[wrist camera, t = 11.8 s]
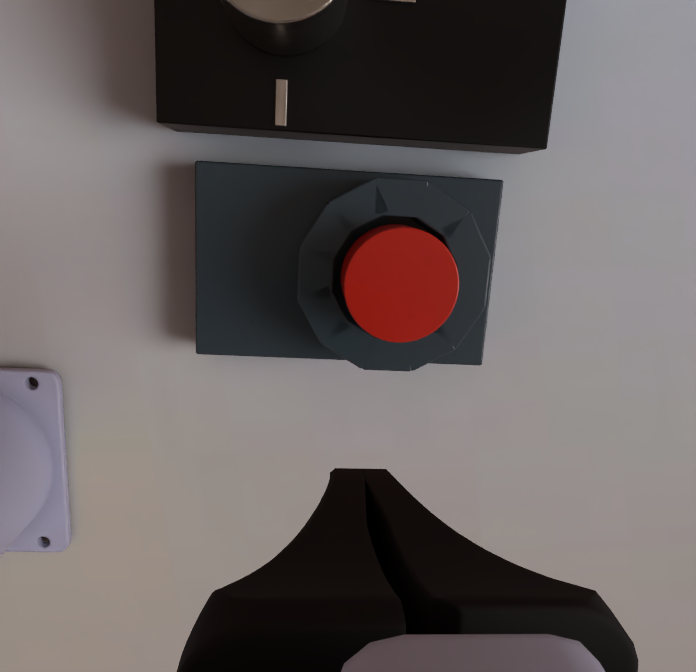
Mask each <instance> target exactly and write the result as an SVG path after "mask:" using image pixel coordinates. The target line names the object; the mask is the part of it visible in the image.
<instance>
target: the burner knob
mask: <svg viewBox="0 0 696 672" xmlns="http://www.w3.org/2000/svg"><path fill="white" fill-rule="evenodd" d="M220 2H221V4H222V6H223V8H224V10H225V12H226V14H227V16H228V18H229V20H230V21H231V23H232V25H233V26H234V27H235V29H236V30H237V31H238V32H239V34H240V35H241V36H242V37H243V38H244V39H246V40H247V41H248V42H249V43H250V44H252V45H254V46H255V47H257V48H259V49H261V50H263V51H265V52H268V53H272V54H276V55H286V56H291V55H299V54H302V53H306V52H308V51H311V50H313V49H315V48H317V47H318V46H320V45H321V44H323V43H324V42H325V41H326V40H327V39H328V38H329V37H330V36H331V35H332V34H333V33H334V32H335V30H336V29H337V27H338V26H339V24H340V22H341V20H342V18H343V16H344V13H345V11H346V7H347V3H348V0H220Z"/></svg>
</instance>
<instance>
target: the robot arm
mask: <svg viewBox="0 0 696 672" xmlns="http://www.w3.org/2000/svg"><path fill="white" fill-rule="evenodd" d="M30 377H33V378H35V379H36V380H37V381H38V387H36V386H33V385H32V384H30V381H29V378H30ZM41 537H47V538H48V539H49V541H50V542H45V541H44V540H42V538H41ZM70 542H71V523H70V507H69V491H68V476H67V460H66V444H65V428H64V412H63V396H62V381H61V378H60V376H59V375H58V373H56V372H55V371H53V370H50V369H32V368H5V367H0V556H1V555H2V554H3V553H4V552H5V551H11V552H61V551H63V550H65V549H66V548H67V546H68V545H69V544H70ZM177 672H638V658H637V654H636V651H635V647H634V644H633V642H632V640H631V639H630V638H629V636H628V635H627V633H626V632H625V630H624V629H623V627H622V626H621V624H620V623H619V621H618V620H617V618H616V617H615V616H614V614H613V613H612V611H611V610H610V609H609V607H608V606H607V605H606V603H605V602H604V601H603V600H602V598H601V597H600V596H599V595H598V594H597V592H596V591H594V590H591V589H587V588H584V587H580V586H577V585H573V584H570V583H566V582H563V581H559V580H556V579H552V578H549V577H546V576H544V575H541V574H539V573H536V572H533V571H531V570H528V569H525V568H523V567H521V566H518V565H516V564H514V563H511V562H509V561H507V560H505V559H503V558H501V557H499V556H497V555H495V554H493V553H491V552H489V551H487V550H485V549H483V548H482V547H480V546H478V545H476V544H475V543H473V542H471V541H470V540H468V539H467V538H465V537H464V536H462V535H460V534H459V533H457V532H456V531H454V530H453V529H452V528H450V527H449V526H447V525H446V524H445V523H444V522H442V521H441V520H440V519H438V518H437V517H436V516H435V515H433V514H432V513H431V512H430V511H429V510H428V509H426V508H425V507H424V506H423V505H422V504H421V503H420V502H418V501H417V500H416V499H415V498H414V497H413V496H412V495H411V494H410V493H409V492H408V491H407V490H406V489H405V488H404V487H403V486H402V485H401V484H400V483H399V482H398V481H397V480H396V479H395V478H394V477H393V476H392V475H391V474H390V473H389V472H388V471H387V470H386V469H343V468H335V469H334V470H333V471H332V472H330V480H329V483H328V486H327V488H326V491H325V493H324V495H323V497H322V499H321V501H320V503H319V505H318V506H317V508H316V510H315V511H314V513H313V514H312V516H311V517H310V519H309V520H308V522H307V523H306V525H305V526H304V527H303V528H302V530H301V531H300V532H299V533H298V535H297V536H296V537H295V538H294V539H293V540H292V541H291V542H290V543H289V545H288V546H286V547H285V548H284V549H283V550H282V551H281V552H280V553H279V554H278V555H277V556H276V557H275V558H273V559H272V560H271V561H270V562H268V563H267V564H265V565H264V566H262V567H261V568H259V569H258V570H256V571H254V572H253V573H251V574H249V575H248V576H246V577H244V578H242V579H240V580H238V581H236V582H233V583H231V584H229V585H227V586H225V587H223V588H220V589H218V590H215V591H214V592H213V593H212V594H211V596H210V597H209V599H208V601H207V602H206V604H205V606H204V608H203V609H202V611H201V613H200V615H199V617H198V619H197V621H196V623H195V625H194V627H193V629H192V631H191V633H190V636H189V638H188V640H187V642H186V645H185V647H184V650H183V653H182V656H181V659H180V662H179V666H178V669H177Z"/></svg>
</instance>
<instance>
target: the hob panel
mask: <svg viewBox="0 0 696 672" xmlns="http://www.w3.org/2000/svg"><path fill="white" fill-rule="evenodd" d="M565 7H566V0H348V3H347V7H346V11H345V13H344V16H343V18H342V20H341V22H340V24H339V26H338V27H337V29H336V30H335V32H334V33H333V34H332V35H331V36H330V37H329V38H328V39H327V40H326V41H325V42H324V43H323V44H321V45H320V46H318V47H317V48H315V49H313V50H311V51H308V52H306V53H302V54H299V55H291V56H286V55H276V54H272V53H268V52H265V51H263V50H261V49H259V48H257V47H255V46H254V45H252V44H250V43H249V42H248V41H247V40H246V39H244V38H243V37H242V36H241V35H240V34H239V32H238V31H237V30H236V29H235V27H234V26H233V25H232V23H231V21H230V20H229V18H228V16H227V14H226V12H225V10H224V8H223V6H222V4H221V2H220V0H154V8H155V59H156V111H157V122H158V123H160V124H162V125H164V126H166V127H168V128H171V129H173V130H175V131H180V132H195V133H210V134H225V135H240V136H254V137H269V138H284V139H299V140H314V141H329V142H344V143H359V144H374V145H389V146H404V147H419V148H434V149H449V150H464V151H479V152H494V153H509V154H523V153H528V152H533V151H538V150H543V149H546V148H547V142H548V134H549V127H550V119H551V112H552V105H553V97H554V90H555V82H556V75H557V67H558V60H559V52H560V45H561V37H562V30H563V22H564V15H565Z"/></svg>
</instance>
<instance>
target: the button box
mask: <svg viewBox="0 0 696 672" xmlns="http://www.w3.org/2000/svg"><path fill="white" fill-rule="evenodd" d="M502 188H503V181H502V180H493V179H477V178H461V177H445V176H430V175H414V174H398V173H382V172H366V171H351V170H335V169H319V168H303V167H288V166H272V165H256V164H240V163H225V162H209V161H196V162H195V242H196V353H197V354H210V355H235V356H260V357H285V358H311V359H336V360H348V361H350V362H351V363H353V364H354V365H356V366H358V367H359V368H363V369H365V370H389V371H411V370H415V369H417V368H419V367H421V366H423V365H425V364H427V363H437V364H462V365H481V364H482V357H483V349H484V340H485V332H486V324H487V315H488V307H489V298H490V290H491V281H492V273H493V264H494V256H495V247H496V239H497V231H498V222H499V214H500V205H501V197H502ZM388 224H401V225H407V226H410V227H414V228H417V229H420V230H423V231H425V232H428V233H430V234H431V235H433V236H435V237H436V238H437V239H439V240H440V241H441V242H442V243H443V244H444V245H445V246H446V247H447V249H448V250H449V251H450V253H451V254H452V256H453V258H454V260H455V263H456V265H457V269H458V274H459V292H458V297H457V301H456V304H455V306H454V308H453V310H452V312H451V314H450V315H449V317H448V318H447V320H446V321H445V322H444V323H443V324H442V325H441V326H440V327H439V328H438V329H437V330H435V331H434V332H433V333H431V334H429V335H428V336H426V337H423V338H421V339H418V340H415V341H411V342H402V343H396V342H389V341H384V340H381V339H379V338H376V337H374V336H372V335H370V334H369V333H367V332H366V331H365V330H363V329H362V328H361V327H360V326H359V325H358V324H357V322H356V321H355V320H354V319H353V317H352V315H351V314H350V312H349V310H348V307H347V305H346V301H345V298H344V295H343V291H342V287H341V269H342V264H343V261H344V258H345V256H346V254H347V252H348V250H349V248H350V247H351V246H352V244H353V243H354V242H355V241H356V240H357V239H358V238H359V237H360V236H362V235H363V234H364V233H366V232H367V231H369V230H371V229H373V228H376V227H378V226H382V225H388Z"/></svg>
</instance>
